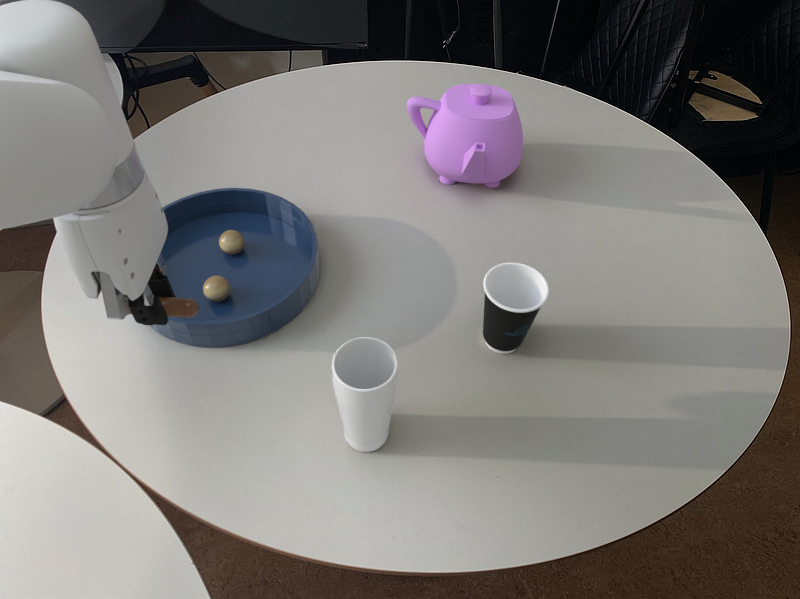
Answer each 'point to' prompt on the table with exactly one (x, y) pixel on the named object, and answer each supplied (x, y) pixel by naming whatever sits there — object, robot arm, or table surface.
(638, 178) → the table surface
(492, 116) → the teapot
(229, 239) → the bead
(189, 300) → the stick
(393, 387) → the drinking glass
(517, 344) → the dixie cup
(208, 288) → the bead
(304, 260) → the tray
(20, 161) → the robot arm
